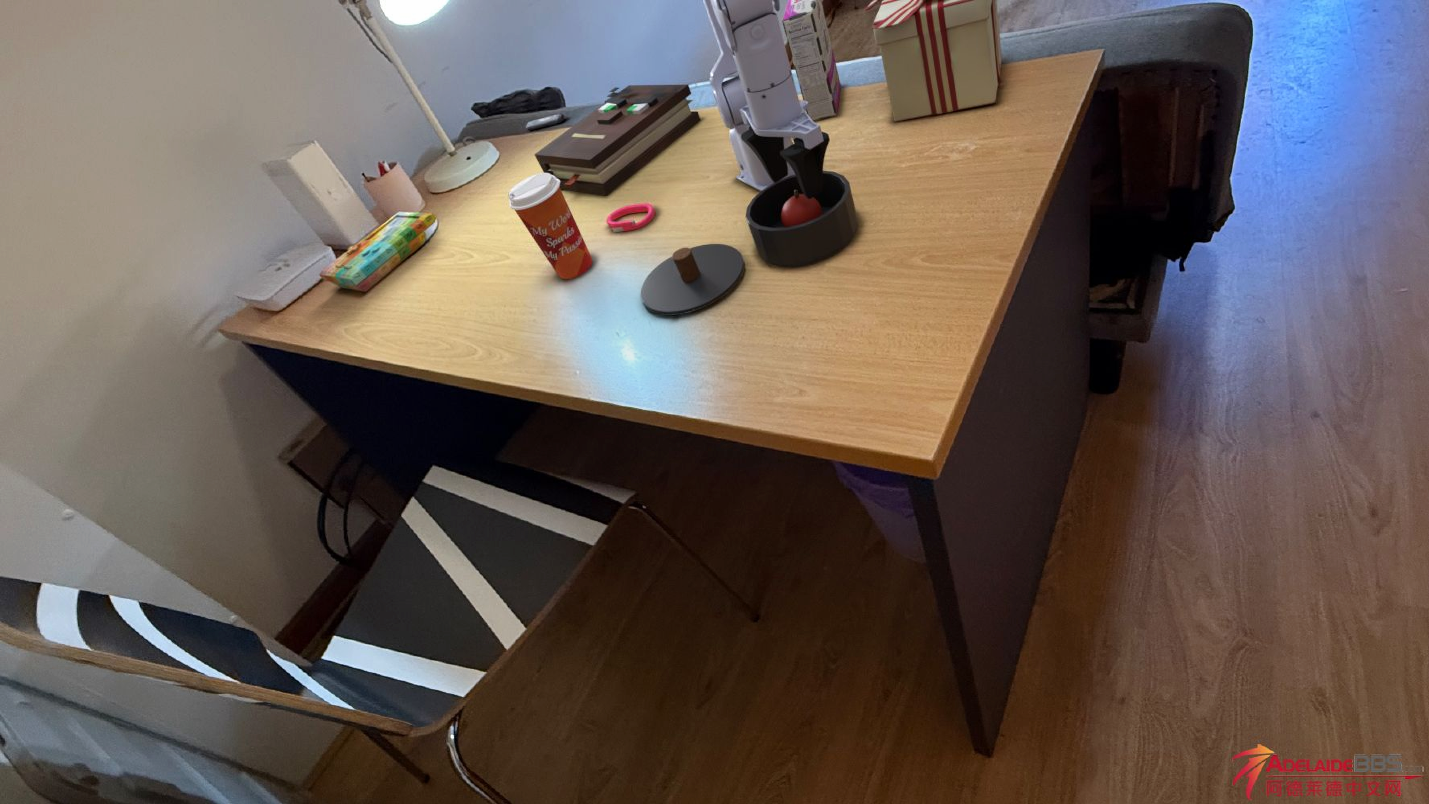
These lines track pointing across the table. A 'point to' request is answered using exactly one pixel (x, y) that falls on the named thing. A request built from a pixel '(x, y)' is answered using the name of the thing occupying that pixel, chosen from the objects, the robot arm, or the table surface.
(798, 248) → the pan
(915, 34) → the gift box
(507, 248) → the table surface
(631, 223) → the fitness band
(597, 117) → the decorative book
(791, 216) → the apple
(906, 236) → the table surface
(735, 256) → the lid
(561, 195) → the paper cup
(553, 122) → the usb stick
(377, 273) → the puzzle game
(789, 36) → the candy bar box
